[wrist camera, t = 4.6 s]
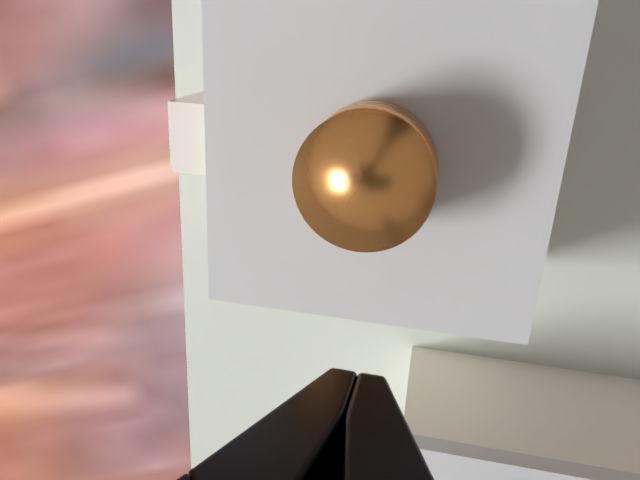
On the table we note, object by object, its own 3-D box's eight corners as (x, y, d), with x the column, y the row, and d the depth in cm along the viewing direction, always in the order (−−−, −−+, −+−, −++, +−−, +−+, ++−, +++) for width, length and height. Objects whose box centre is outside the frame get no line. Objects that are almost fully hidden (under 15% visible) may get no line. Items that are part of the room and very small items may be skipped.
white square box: (557, -13, 18) (603, -26, 12) (508, 262, 21) (528, 345, 16) (229, -26, 19) (145, -42, 14) (231, 228, 23) (164, 292, 17)
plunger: (524, 18, 17) (567, 17, 11) (487, 242, 20) (504, 350, 13) (290, 6, 19) (204, 0, 12) (284, 219, 21) (211, 307, 15)
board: (946, -98, 16) (964, -103, 15) (673, 610, 25) (678, 623, 25) (175, -109, 19) (167, -113, 19) (198, 509, 29) (193, 518, 29)
